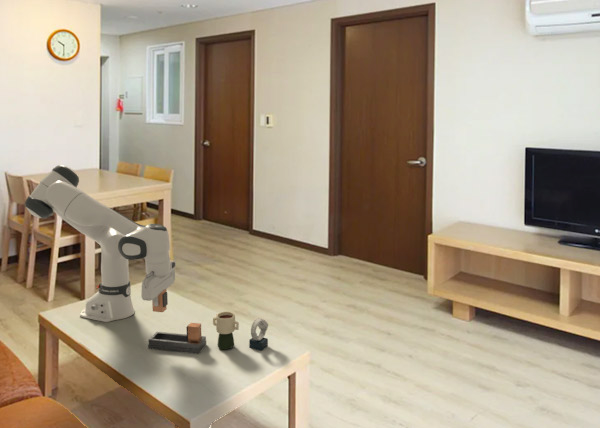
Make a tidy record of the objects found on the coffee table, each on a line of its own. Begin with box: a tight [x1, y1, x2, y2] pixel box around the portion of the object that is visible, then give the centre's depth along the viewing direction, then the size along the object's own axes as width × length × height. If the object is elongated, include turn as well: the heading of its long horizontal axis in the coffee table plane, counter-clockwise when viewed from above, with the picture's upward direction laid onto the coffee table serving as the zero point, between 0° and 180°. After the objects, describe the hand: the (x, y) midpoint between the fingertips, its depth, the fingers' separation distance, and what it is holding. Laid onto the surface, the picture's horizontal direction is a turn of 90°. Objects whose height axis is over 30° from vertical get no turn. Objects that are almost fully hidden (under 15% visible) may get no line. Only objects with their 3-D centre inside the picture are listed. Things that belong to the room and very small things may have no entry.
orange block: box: [151, 289, 169, 313], centre depth 190 cm, size 5×3×8 cm
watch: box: [248, 318, 269, 351], centre depth 193 cm, size 6×8×11 cm
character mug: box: [212, 311, 240, 350], centre depth 192 cm, size 11×7×13 cm, turn 68°
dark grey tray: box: [147, 322, 207, 355], centre depth 192 cm, size 20×8×10 cm, turn 80°
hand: (159, 303), depth 191 cm, fingers closed on orange block, 3 cm apart
